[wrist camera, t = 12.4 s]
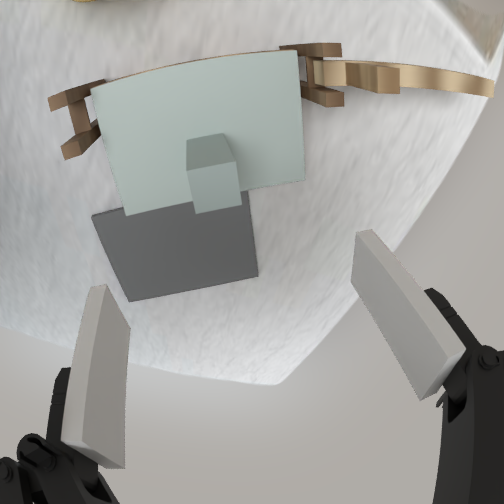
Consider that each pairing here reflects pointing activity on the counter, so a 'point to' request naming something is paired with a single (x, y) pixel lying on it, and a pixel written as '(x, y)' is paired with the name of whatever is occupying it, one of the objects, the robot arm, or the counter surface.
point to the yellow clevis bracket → (83, 0)
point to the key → (397, 77)
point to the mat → (178, 248)
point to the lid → (203, 130)
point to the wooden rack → (75, 96)
